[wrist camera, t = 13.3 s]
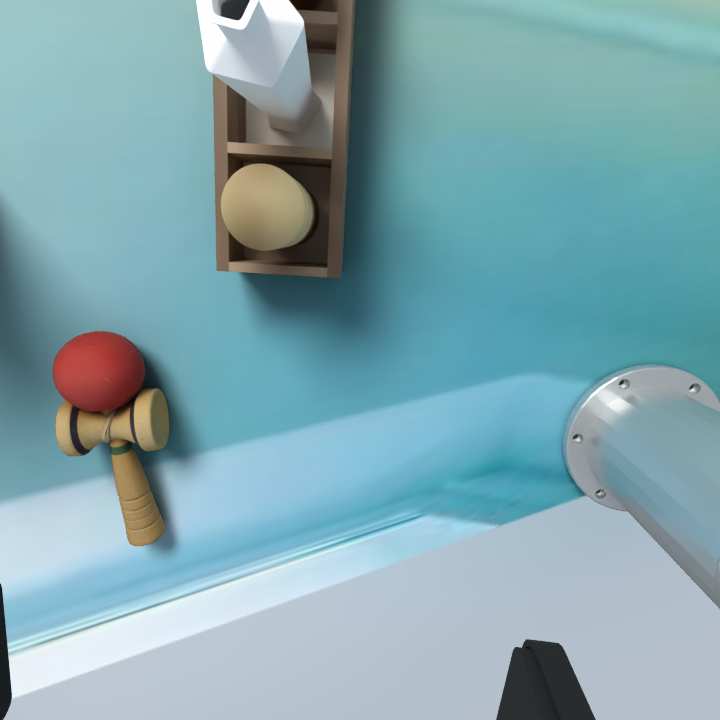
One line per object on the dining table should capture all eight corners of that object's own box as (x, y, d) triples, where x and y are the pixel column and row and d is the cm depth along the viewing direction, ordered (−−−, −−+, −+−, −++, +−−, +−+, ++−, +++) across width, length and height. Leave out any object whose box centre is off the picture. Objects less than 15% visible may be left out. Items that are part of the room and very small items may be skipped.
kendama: (210, 508, 43) (162, 319, 36) (173, 563, 37) (107, 351, 30) (134, 503, 44) (74, 321, 37) (87, 555, 39) (5, 351, 32)
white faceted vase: (329, 137, 32) (301, 61, 18) (266, 143, 32) (186, 72, 18) (323, 62, 31) (287, -86, 17) (256, 68, 31) (164, -73, 17)
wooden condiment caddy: (360, -83, 30) (358, -233, 20) (342, 272, 36) (334, 286, 26) (234, -91, 30) (171, -245, 20) (236, 265, 36) (189, 277, 26)
